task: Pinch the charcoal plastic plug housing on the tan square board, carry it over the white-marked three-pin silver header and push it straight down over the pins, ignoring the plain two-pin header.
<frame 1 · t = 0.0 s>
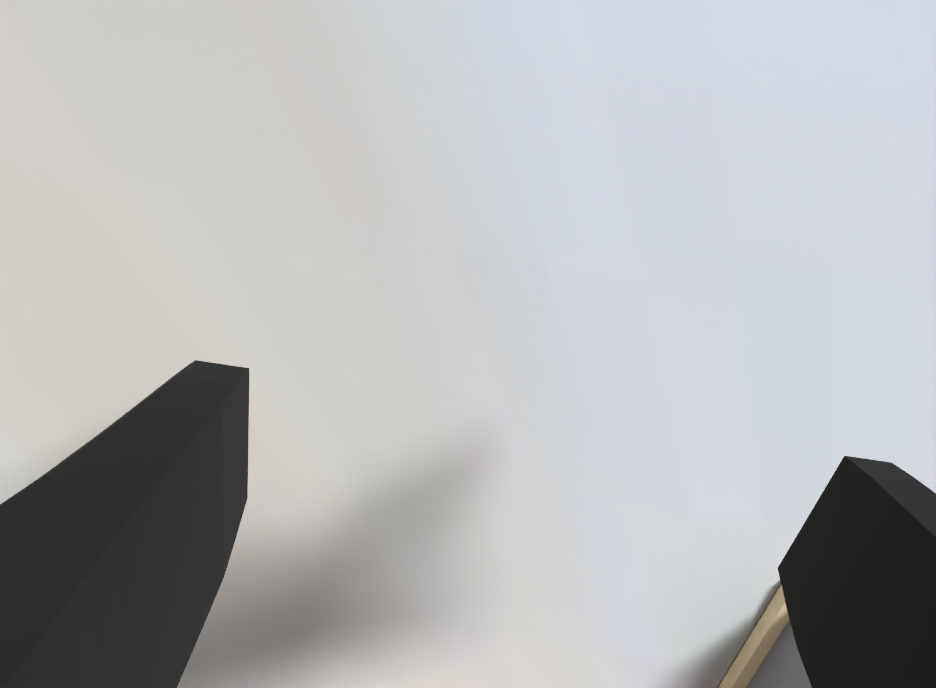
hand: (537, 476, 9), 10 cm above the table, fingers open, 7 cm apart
plug housing: (812, 672, 27), point 1 cm above the table, touching tan square board
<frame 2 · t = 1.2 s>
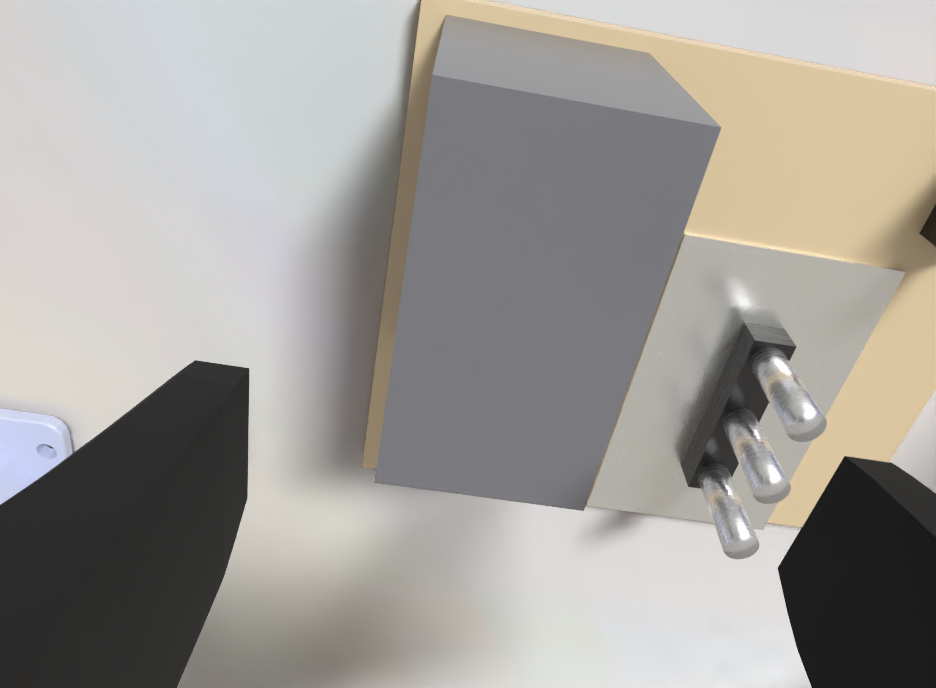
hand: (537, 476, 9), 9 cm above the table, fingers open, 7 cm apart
plug housing: (510, 212, 16), point 1 cm above the table, touching tan square board
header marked: (721, 385, 19), resting on tan square board
tan square board: (672, 308, 18), on the table
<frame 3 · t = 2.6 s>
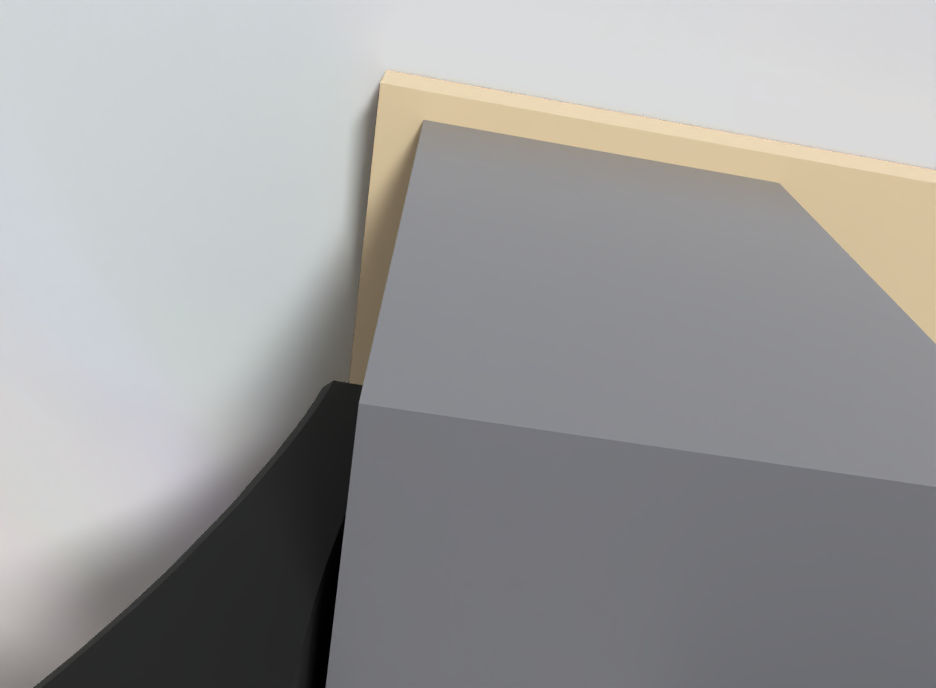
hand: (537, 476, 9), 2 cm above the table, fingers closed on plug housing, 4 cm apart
plug housing: (531, 415, 10), point 1 cm above the table, touching gripper, tan square board
tan square board: (773, 527, 12), on the table
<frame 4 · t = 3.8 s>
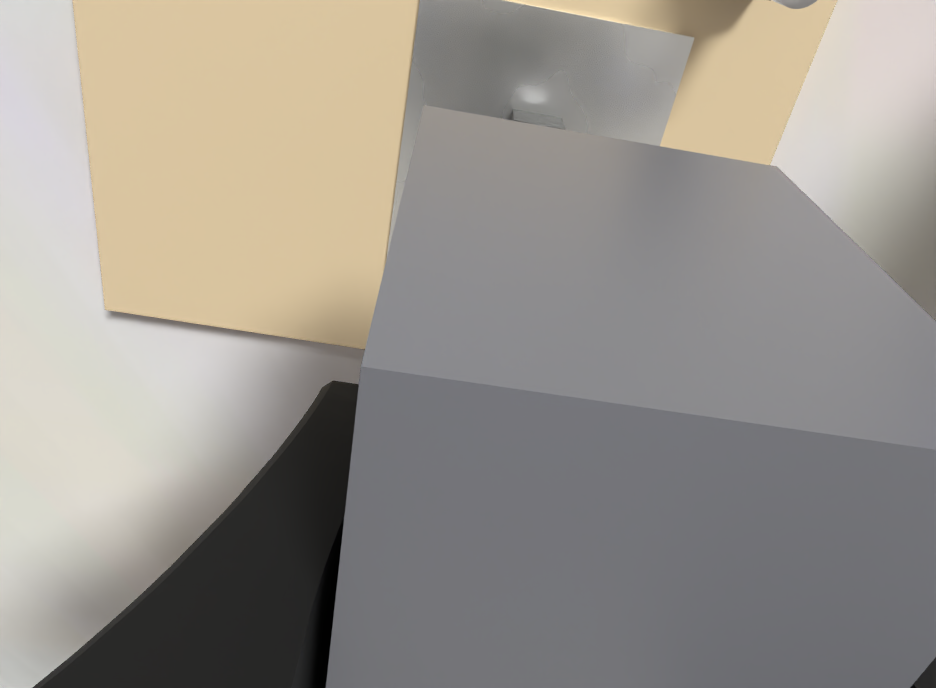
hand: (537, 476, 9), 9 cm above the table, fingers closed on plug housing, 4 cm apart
plug housing: (532, 401, 10), point 7 cm above the table, touching gripper
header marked: (512, 207, 16), resting on tan square board
tan square board: (437, 101, 15), on the table
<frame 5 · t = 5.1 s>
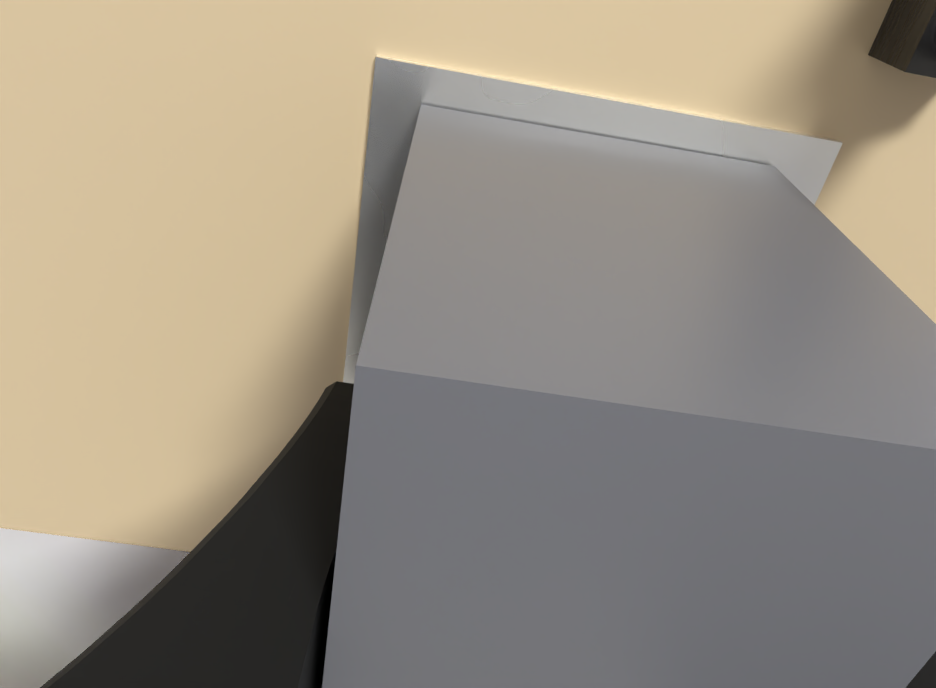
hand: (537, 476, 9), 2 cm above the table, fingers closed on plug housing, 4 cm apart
plug housing: (530, 401, 10), point 1 cm above the table, touching gripper
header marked: (528, 376, 11), resting on tan square board
tan square board: (410, 230, 10), on the table
when the fingers open (2 cm above the table, at t = 5.4 s): plug housing stays where it is, resting on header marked.
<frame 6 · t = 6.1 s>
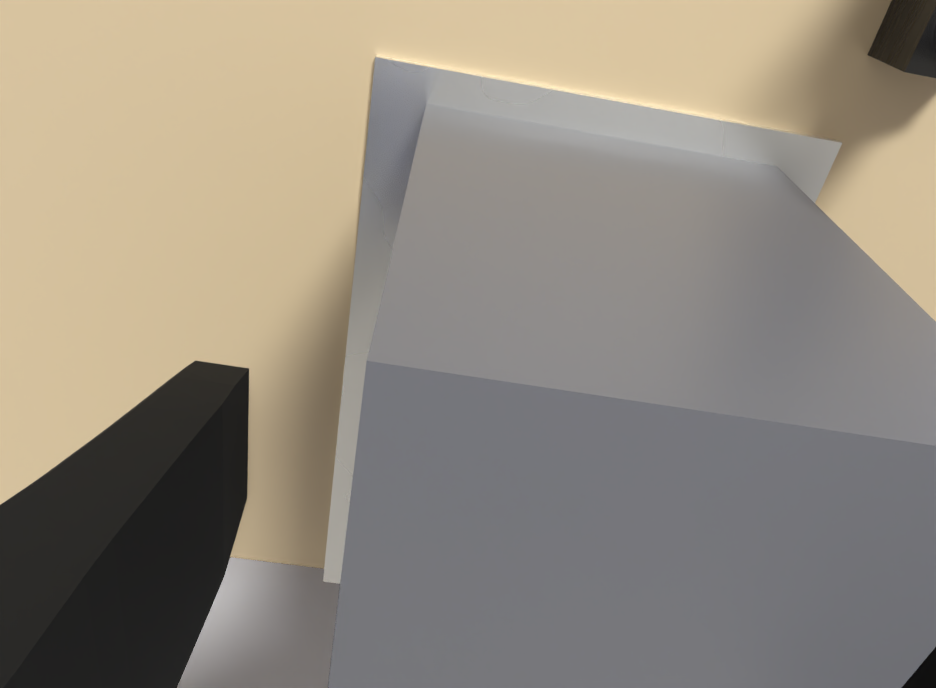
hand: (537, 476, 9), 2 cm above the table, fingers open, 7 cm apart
plug housing: (532, 399, 10), point 1 cm above the table, touching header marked
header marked: (527, 376, 11), resting on tan square board
tan square board: (410, 230, 10), on the table
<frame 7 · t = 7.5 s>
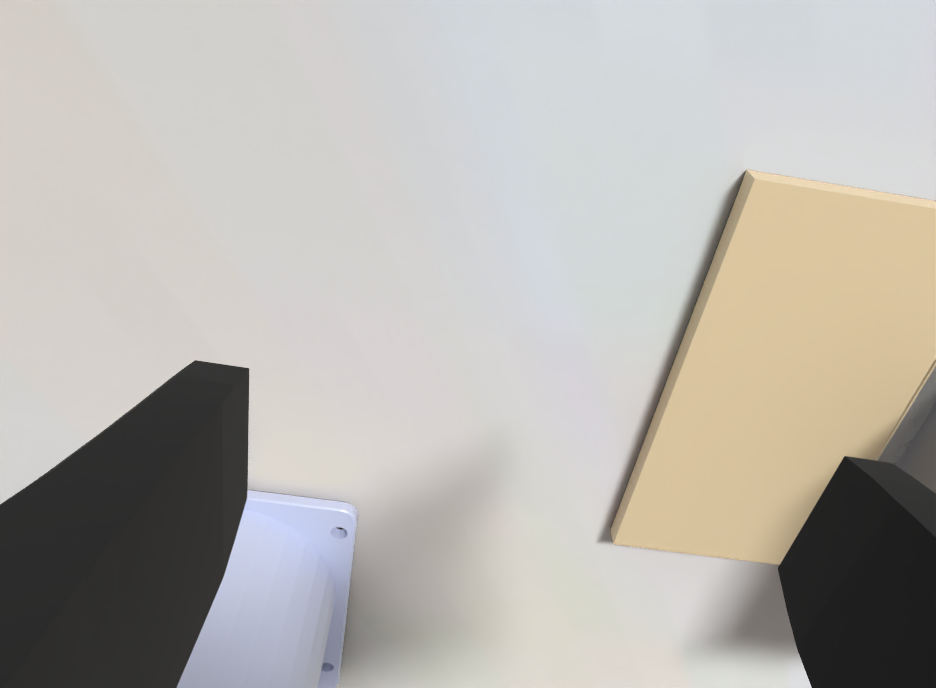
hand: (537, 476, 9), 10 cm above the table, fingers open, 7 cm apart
tan square board: (907, 412, 21), on the table
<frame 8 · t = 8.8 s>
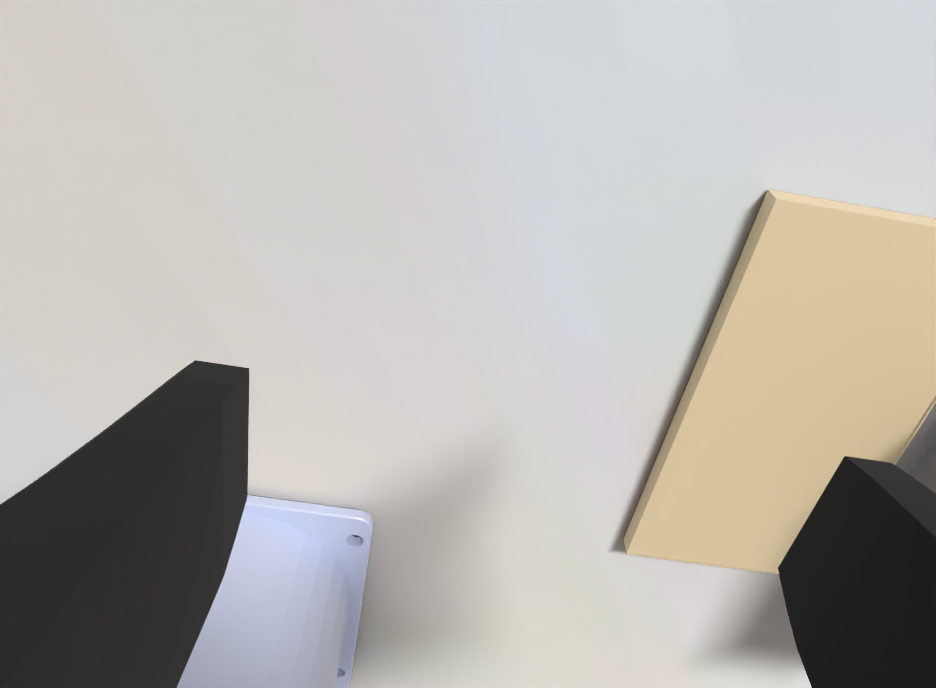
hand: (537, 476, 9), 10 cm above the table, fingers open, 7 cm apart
tan square board: (918, 427, 21), on the table
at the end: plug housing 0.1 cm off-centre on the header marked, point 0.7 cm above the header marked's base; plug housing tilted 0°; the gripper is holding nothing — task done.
